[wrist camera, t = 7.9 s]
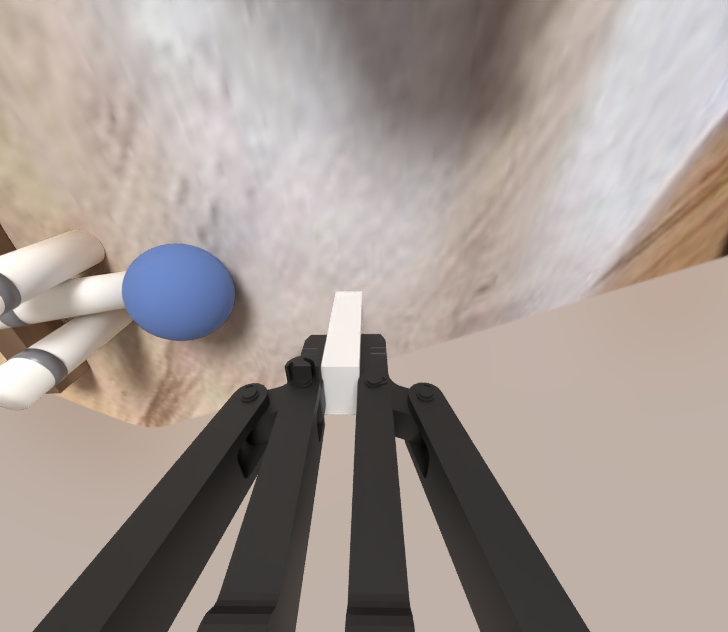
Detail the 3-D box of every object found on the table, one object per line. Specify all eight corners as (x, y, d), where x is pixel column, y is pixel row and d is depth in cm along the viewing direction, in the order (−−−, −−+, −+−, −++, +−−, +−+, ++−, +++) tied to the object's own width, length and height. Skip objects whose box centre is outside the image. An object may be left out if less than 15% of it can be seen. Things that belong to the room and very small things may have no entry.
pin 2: (138, 307, 23) (34, 390, 16) (130, 330, 24) (29, 416, 17) (103, 290, 22) (-25, 369, 15) (96, 314, 23) (-26, 398, 16)
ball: (114, 272, 20) (212, 256, 23) (146, 358, 20) (239, 329, 23) (95, 234, 15) (222, 221, 18) (137, 350, 15) (257, 315, 18)
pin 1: (108, 241, 20) (-27, 304, 13) (102, 271, 21) (-27, 343, 14) (65, 221, 19) (-104, 275, 12) (61, 252, 20) (-98, 320, 13)
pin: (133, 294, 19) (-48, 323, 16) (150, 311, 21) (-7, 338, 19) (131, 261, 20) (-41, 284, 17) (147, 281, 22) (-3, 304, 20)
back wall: (-44, 156, 17) (-113, 160, 15) (90, 367, 26) (60, 393, 23) (-79, 156, 17) (-155, 160, 15) (66, 367, 26) (34, 393, 23)
